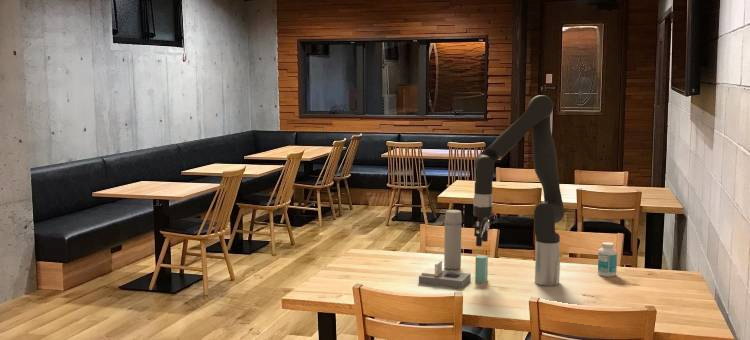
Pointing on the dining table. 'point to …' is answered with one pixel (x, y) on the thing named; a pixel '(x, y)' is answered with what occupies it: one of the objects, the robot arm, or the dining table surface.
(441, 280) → the socket block
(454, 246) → the water bottle
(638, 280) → the dining table surface
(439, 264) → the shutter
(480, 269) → the teal flat-sided block
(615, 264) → the pill bottle
